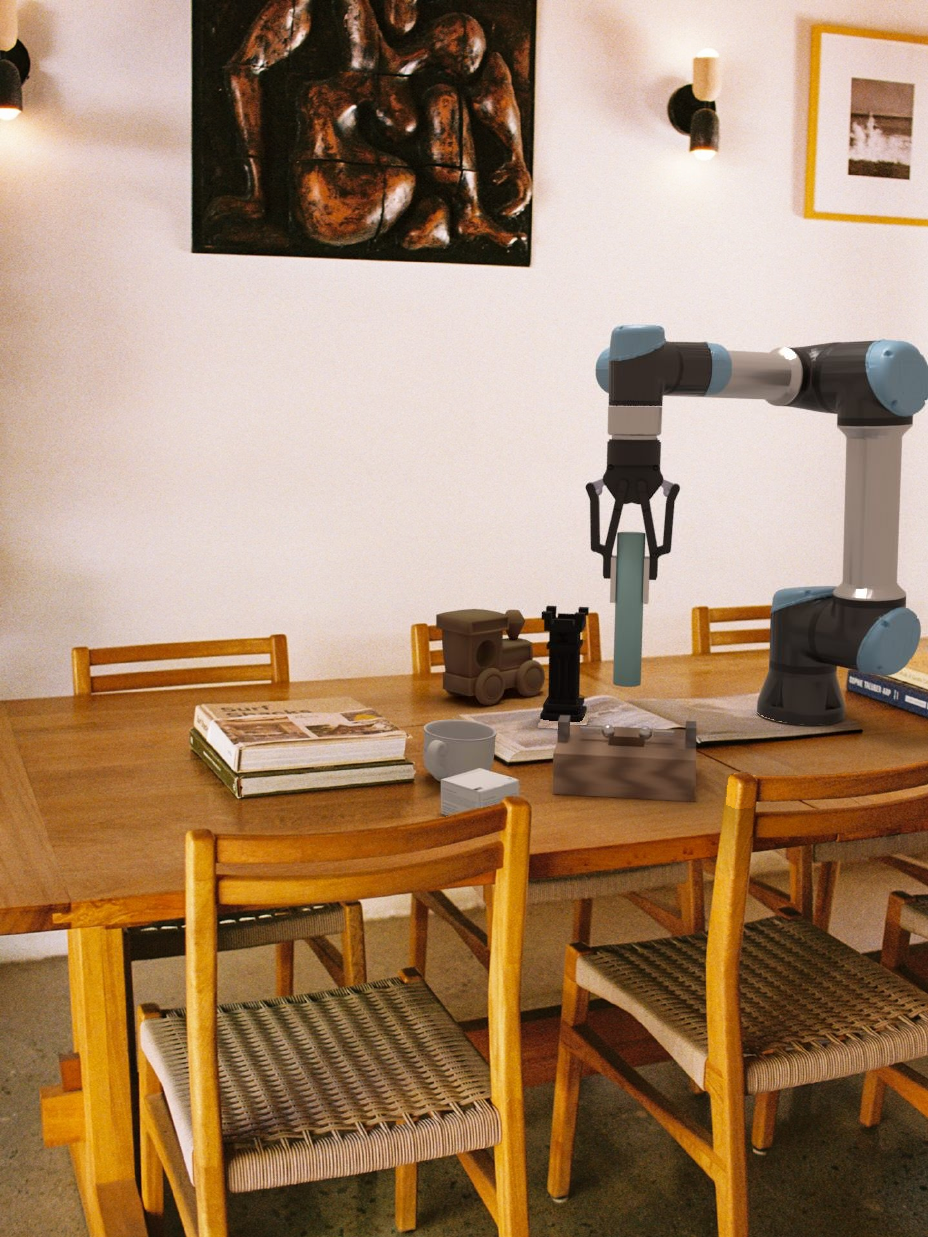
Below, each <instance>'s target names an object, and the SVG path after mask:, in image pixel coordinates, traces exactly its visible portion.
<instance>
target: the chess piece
mask: <svg viewBox="0 0 928 1237" xmlns="http://www.w3.org/2000/svg"><path fill="white" fill-rule="evenodd" d="M557 607H558V606H557V605H546V607H545V610H543V611H541V619H540V620H543V631H544V632H549V633H548V634H549V635H548V639H549V641H548V642H547V643H546V644H545V645H546V650H548V687H547V688H548V695H547V697H546V698H545V701H544V702H543V703H542V710H541V711H540V712H541V713H540V714H539V720H540V719H543V720H549V721H558V720H559V717H560V715H567V716H570V722H580V721H582V720H583V718H584V716H585V714H586V713H587V710H588V708H587V705H584V703H585V697H580V688H581V687H580V683H581V682H580V681H581V680H580V679H581V676H580V675H581V648H582V646H584V645H583V644H584V639H581V638H582V637H581V633H583V632H584V631H585V630H584V629H585V628H586V626H587V616H589V613H590V612H589V611H590V607H589V606H579V607H578V609H577V610H578V612H577V611H576V612H575V613H562V612H561V613H560V612H558V613H557Z"/></svg>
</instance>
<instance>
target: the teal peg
mask: <svg viewBox="0 0 928 1237" xmlns="http://www.w3.org/2000/svg"><path fill="white" fill-rule="evenodd" d="M616 555H617V566H616V601H615V603H614V631H613V632H614V634H613V635H614V636H613V670H612V671H613V672H612V673H613V676H612V684H613V685H614V686H616V687H620V688H621V687H623V688H624V687H625V688H633V687H639V686H641V685H642V656H643V654H642V652H643V629H644V628H643V626H644V624H643V623H644V622H643V621H644V604H643V581H644V558H645V556H646V532H640V531H619V532H618V531H617V534H616Z"/></svg>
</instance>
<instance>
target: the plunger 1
mask: <svg viewBox="0 0 928 1237" xmlns="http://www.w3.org/2000/svg"><path fill="white" fill-rule="evenodd" d="M602 726H603V728H602V731H601V727H584V726H581V727H580V734H594V735H601V732H602V735H603V736H604V737H605V738H611V737H613V736H614V734H615V729H614V727H615V726H613V725H611V724H605V725H602Z"/></svg>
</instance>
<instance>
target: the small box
mask: <svg viewBox="0 0 928 1237" xmlns="http://www.w3.org/2000/svg"><path fill="white" fill-rule="evenodd" d="M507 796H519V797H520V780H519V779H518V778H515V777H511V776H508V775H505V774H501V773H498V772H494V771H492V770H491V771H488V770H485V769H481V768H478V769H475V770H472V771H469V772H466V773H462V774H459V775H455V776H452V777H448V778H445V779H441V782H440V814H441V815H444V816H447V815H450V814H453V813H459V812H462V811H467V810H470V809H476V808H483V807H487V806H492V805H495V804H499V803H500V802H501V801H502V800H503V799H504V798H505V797H507Z"/></svg>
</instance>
